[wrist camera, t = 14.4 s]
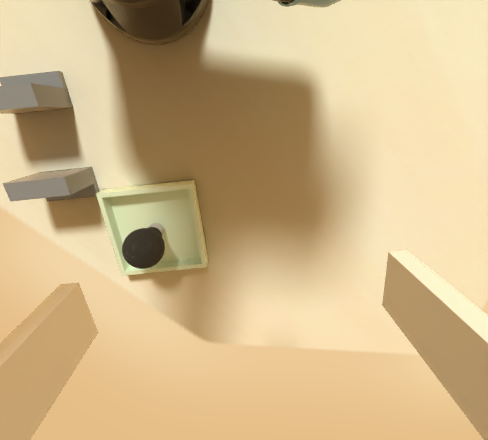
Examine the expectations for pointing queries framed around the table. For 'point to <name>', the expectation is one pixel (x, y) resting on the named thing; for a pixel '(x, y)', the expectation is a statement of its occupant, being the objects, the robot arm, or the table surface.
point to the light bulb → (144, 246)
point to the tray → (157, 211)
